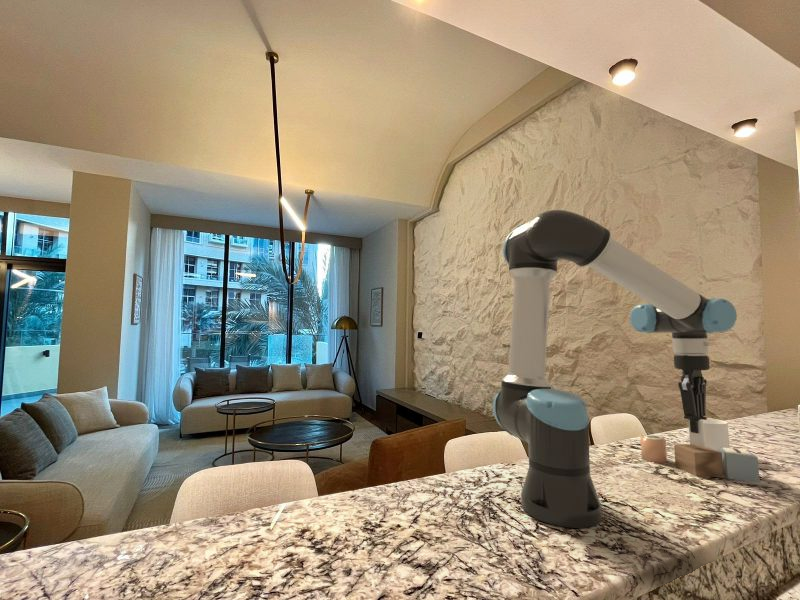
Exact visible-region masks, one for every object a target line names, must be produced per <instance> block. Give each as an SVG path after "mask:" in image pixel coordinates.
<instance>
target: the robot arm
mask: <svg viewBox="0 0 800 600" xmlns="http://www.w3.org/2000/svg"><path fill="white" fill-rule="evenodd" d="M502 253H503V258H504V260H505V261H506V263H507V265H508V274H509V275H510V277H511V278H512V279H513V280H514V281H513V293H512V298H513V299H512V310H511V311H512V312H511V313H512V314H511V328H510V345H509V359H508V373H507V374H506V375H505V376H503V377H502V378H501V386H500V390H499V391H498V392H497V393H496V395H495V397H494V399H493V403H492V413H493V417H494V418H495V420H496V423H497V424H498V425H499V426H500V428H502V429H503V430H505V433H507V434H509V435H511V436H514V437H515V438H517V439H520V440H521V441H522V442H525V443H527V444H528V446H527V448H528V470H527V472H526V475H525V478H524V479H525V480H524V483H523V486H522V489H521V494H520V496H521V497H520V498H521V499H520V503H521V504H520V505H521V508H522V509H523V511H524V512H525V513H526V514H528V515H529V516H531V517H532V518H534V519H536V520H538V521H540V522H543V523H547V524H549V525H554V526H557V527H561V528H562V527H563V528H569V529H570V528H571V529H583V528H590V527H593V526H596V525H598V524H599V523H600V522H601V521H602V519H603V513H602V512H603V510H602V503H601V501H600V498H599V495H598V492H597V489H596V487H595V485H594V481H593V479H592V476H591V468H590V467H591V465H590V463H591V462H590V438H589V437H590V435H589V422H590V418H589V415H588V413H589V412H588V406H587V404H586V401H585V400H584V399H583V398H582V397H580V396H579V395H577V394H575V393H573V392H568V391H564V390H563V391H562V390H559V389H554V388H552V384H551V383H550V382H549V380H548V379H547V378H546V362H547V361H546V360H547V342H548V326H549V321H548V320H549V307H550V288H551V287H550V283H551V281H552V279H553V278H555V277H556V276H557V274H558V261H561V260H563V261H564V260H565V261H570V262H572V263H574V264H576V265H577V266H579V267H580V268H581V267H582V268H585V267H589V268H591V269H593V270H595V272H598V273H599V274H600V275H602V276H604V277H605V278H607V279H608V280H610V281H612V282H614V283H616V284H617V285H619V286H620V287H622V288H624V290H626V291H628V292H629V293H632V294H633V295H635V296H636V297H638V298H640V299H642V300H643V301H644V302H646V303H645V304H638V305H635V306H634V307H633V308H632V309H631V312H630V314H629V320H630V321H629V322H630V325H631V326H632V329H634V330H635V331H637V332H638V333H645V334H646V333H647V334H652V333H653V334H654V333H655V334H657V333H658V334H659V333H662V334H663V333H669V334H670V333H671V337H672V352H673V353H674V356H673V366H674V368H675V369H677V370H682V372H681V373H682V374H681V376H680V377H681V378H680V379H681V381H679V382H678V383H677V385H678V388H679V391H680V397H681V404H682V408H683V415H684V416H683V419H684V420H688V421H687V422H688V432H689V444H692V445H697V446H702V447H703V446H705V443H704V430H703V420H707V418H708V417H707V414H706V411H707V410H706V409H707V408H706V407H707V406H706V404H707V403H706V401H707V400H706V398H707V397H706V396H707V389H706V388H707V382H708V381H707V379H705V378H704V376H703V372H702V371H708V370H710V366H711V365H710V357H709V356H708V355H707V354H709V347H710V346H711V342H710V341H709V342H708V334H713V333H723V332H728V331H730V330H731V329H732V328H733V327H734V326H735V324H736V322H737V318H738V317H737V316H738V314H737V310H736V308H735V306H734V304H733V303H732V302H731V301H730V300H728V299H724V298H715V297H713V298H712V297H711V298H707V297H705V296H703V295H702V294H700V293H699V292H697V291H695V290H694V289H693V288H691V287H689V286H687V285H686V284H684V283H683V282H681V281H680V280H678V279H677V278H675V277H673V276H672V275H670V274H669V273H667V272H665V271H664V270H662V269H661V268H659V267H658V266H656V265H655V264H653V263H652V262H650V261H648V259H646V258H644V257H642V256H641V255H639V254H637V253H636V252H634V251H632V250H631V249H629V247H626V246H625V245H624V244H622V243H620V242H619V241H617V240H616V239H615V238H613V237H612V232H611V231H610V230H609V229H607V228H606V227H605V226H603V225H601V224H599V223H598V222H597V221H594V220H593V219H590V218H588V217H586V216H583V215H582V214H578V213H575V212H572V211H568V210H564V209H563V210H562V209H552V210H547V211H544V212H541V213H539V214H538V215H537V216H535V217H533V218H531V219H530V220H529V221H526V222H525V223H522V224H520V225H517V226H516V227H515V228H514V229H513V230H511V231H510V233H509V234H508V235H507V236H506V238H505V240H504V243H503V247H502ZM701 419H703V420H701Z"/></svg>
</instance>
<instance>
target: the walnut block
mask: <svg viewBox="0 0 800 600" xmlns="http://www.w3.org/2000/svg"><path fill="white" fill-rule="evenodd" d="M673 448H674V450H673V451H674V463H675V465H674V466H676V467H675V468H677V467H678V468H677V469H679V468H680V469H679V470H681V469H682V470H681V471H683V470H684V471H683V472H685V471H686V472H685V473H687V472H688V474H689V473H690V474H689V475H692V476H693V477H696V476H697V478H699V477H703V478H705V477H707V478H709V477H710V478H712V477H714V478H716V477H717V476H718V477H722V476H724V474H723V462H722V452H719V451H716V450H714V449H711V448H708V447H705V446H703V447H702V446H697V445H692V444H690V443H689V444H684V443H683V444H682V443H681V444H676V443H675V444H673ZM715 476H716V477H715Z"/></svg>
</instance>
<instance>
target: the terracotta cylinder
mask: <svg viewBox="0 0 800 600" xmlns="http://www.w3.org/2000/svg"><path fill="white" fill-rule="evenodd" d="M640 450H641V451H640V453H641V459H642V460H643V461H645V462H648V463H652V462H654V464H667V463H668V458H667V456H668V453H667V439H665V438H664V437H661V436H658V435H649V434H647V435H641V436H640ZM666 462H667V463H666Z"/></svg>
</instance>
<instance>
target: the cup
mask: <svg viewBox="0 0 800 600" xmlns="http://www.w3.org/2000/svg"><path fill="white" fill-rule="evenodd" d="M701 420H703V419H701ZM703 430H704V443H705V447H708V448H711V449H714V450H716V451H718V447H719V448H731V447H730V435H729V434H730V433H729V424H728V422H727V421H726V420H722V419H717V418H711V417H707V420H703Z"/></svg>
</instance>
